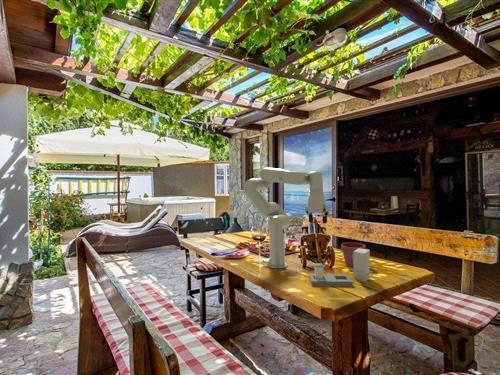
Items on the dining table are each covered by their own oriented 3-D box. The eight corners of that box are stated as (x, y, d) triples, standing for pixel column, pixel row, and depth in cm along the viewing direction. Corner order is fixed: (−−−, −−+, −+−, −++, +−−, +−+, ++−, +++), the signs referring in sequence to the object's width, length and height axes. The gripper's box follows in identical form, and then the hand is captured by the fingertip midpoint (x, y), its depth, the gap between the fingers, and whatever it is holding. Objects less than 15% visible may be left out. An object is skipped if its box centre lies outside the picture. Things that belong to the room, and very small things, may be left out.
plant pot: (348, 269, 176) (348, 248, 176) (337, 263, 190) (337, 243, 189) (370, 267, 179) (370, 246, 178) (357, 261, 192) (357, 241, 192)
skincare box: (358, 276, 164) (358, 247, 163) (370, 278, 160) (370, 249, 159) (352, 280, 157) (352, 250, 157) (365, 282, 153) (365, 252, 153)
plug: (315, 283, 152) (315, 265, 152) (314, 280, 156) (314, 263, 156) (323, 283, 151) (323, 265, 151) (322, 280, 155) (322, 263, 155)
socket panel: (311, 287, 148) (311, 280, 148) (309, 279, 160) (309, 273, 160) (352, 287, 146) (352, 281, 146) (347, 279, 158) (347, 273, 158)
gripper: (300, 193, 174) (301, 222, 174) (325, 193, 161) (326, 224, 161) (308, 192, 179) (309, 221, 179) (333, 192, 166) (334, 222, 166)
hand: (317, 222), depth 170 cm, fingers open, 9 cm apart
